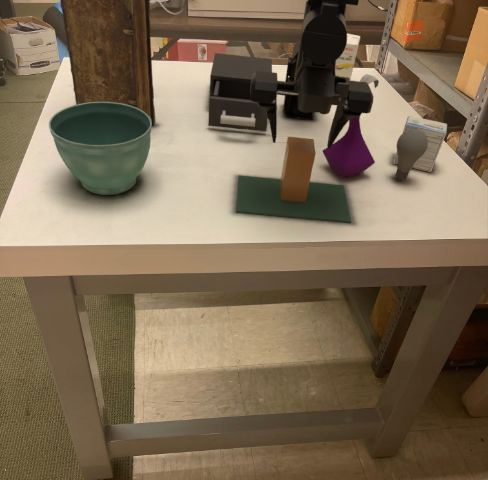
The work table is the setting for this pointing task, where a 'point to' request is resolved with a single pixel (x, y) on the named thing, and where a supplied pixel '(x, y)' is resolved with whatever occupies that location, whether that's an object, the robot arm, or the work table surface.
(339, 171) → the perfume bottle
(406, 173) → the light bulb
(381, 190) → the work table surface
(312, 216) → the front mat
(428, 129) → the medicine box
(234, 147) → the work table surface
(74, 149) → the flower pot
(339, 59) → the ink box
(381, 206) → the work table surface
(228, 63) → the dark grey box
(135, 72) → the book
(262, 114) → the drawer
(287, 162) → the box
